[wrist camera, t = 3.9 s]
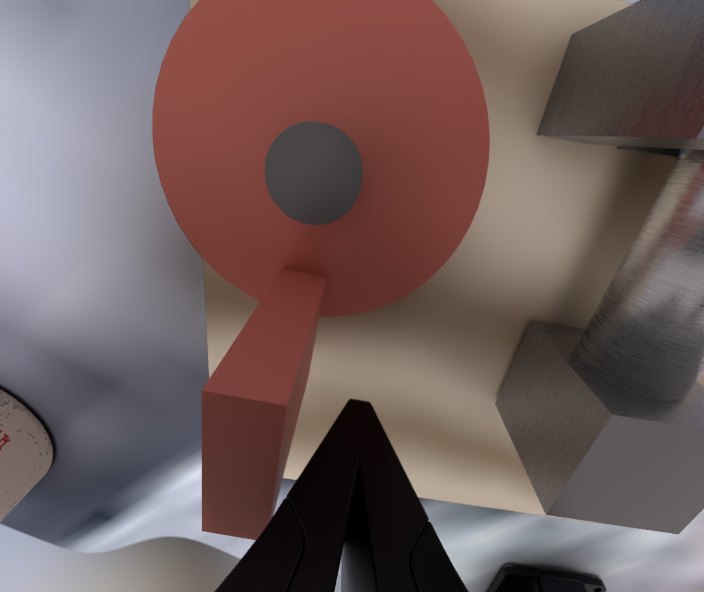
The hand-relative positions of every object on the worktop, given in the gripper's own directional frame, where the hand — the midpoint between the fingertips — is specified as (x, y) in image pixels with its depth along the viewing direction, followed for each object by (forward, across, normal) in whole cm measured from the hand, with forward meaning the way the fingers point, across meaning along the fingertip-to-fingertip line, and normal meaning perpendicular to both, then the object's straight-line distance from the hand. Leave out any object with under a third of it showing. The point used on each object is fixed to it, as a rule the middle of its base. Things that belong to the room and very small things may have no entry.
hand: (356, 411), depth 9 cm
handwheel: (+4, +2, -4) cm, 6 cm away
